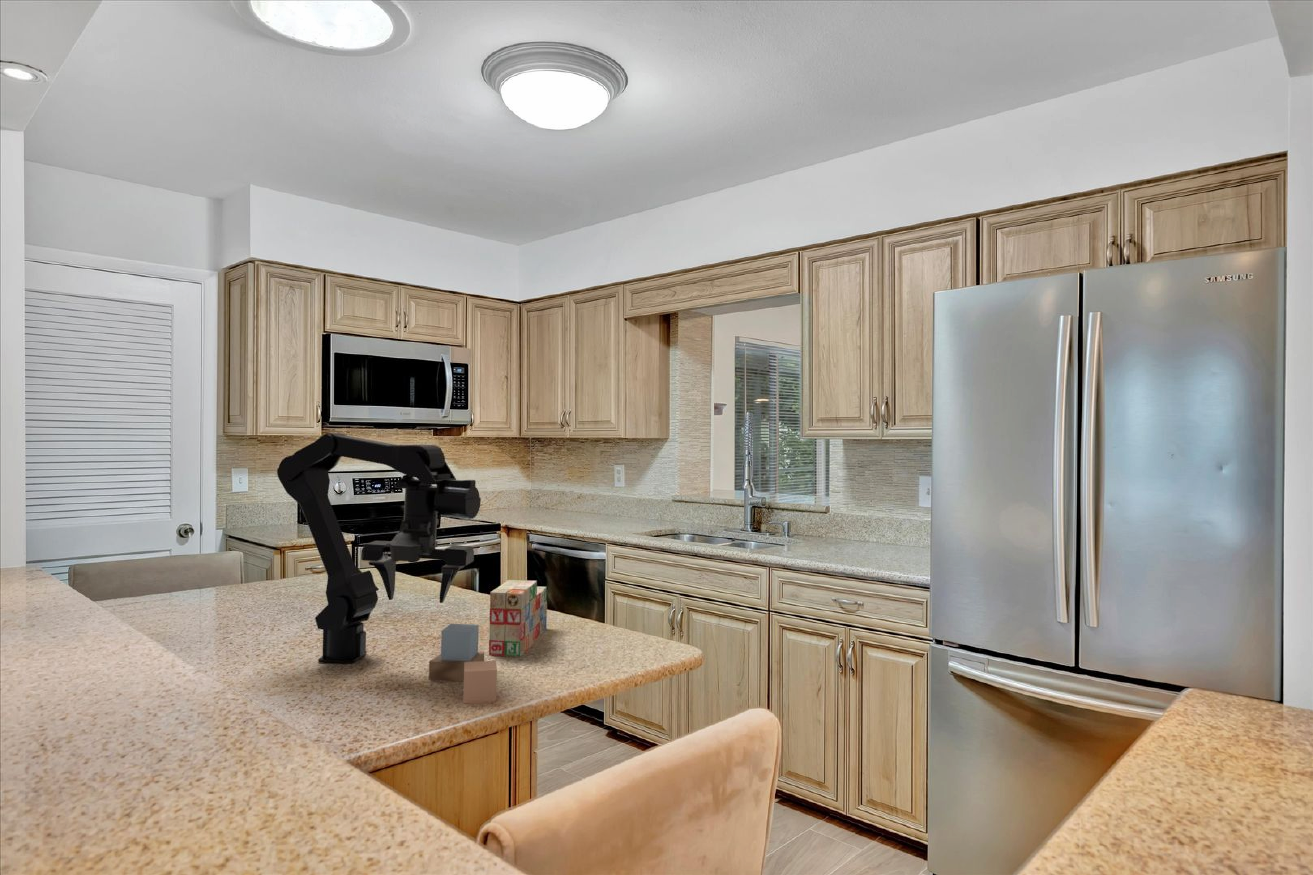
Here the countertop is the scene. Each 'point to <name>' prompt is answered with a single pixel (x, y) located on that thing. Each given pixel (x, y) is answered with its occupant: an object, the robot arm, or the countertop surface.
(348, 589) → the robot arm
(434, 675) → the walnut slab
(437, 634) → the countertop surface
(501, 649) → the stack of blocks
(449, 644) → the slate cube
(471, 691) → the terracotta cube
